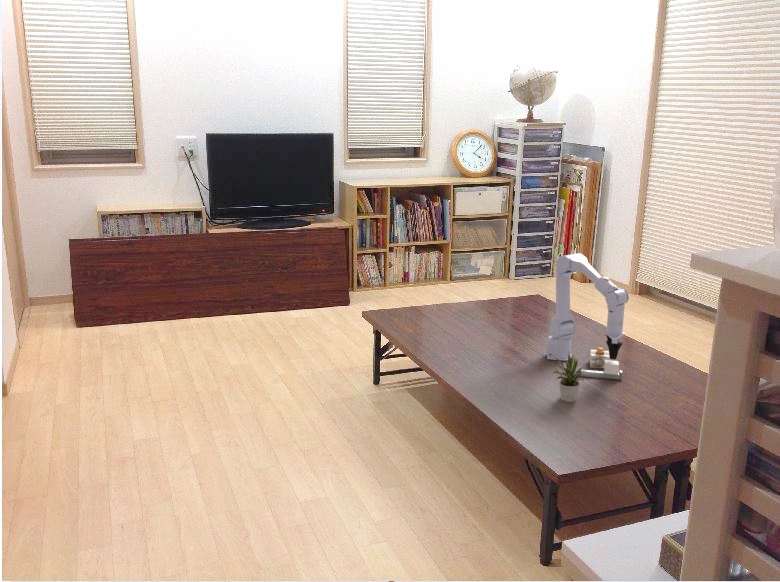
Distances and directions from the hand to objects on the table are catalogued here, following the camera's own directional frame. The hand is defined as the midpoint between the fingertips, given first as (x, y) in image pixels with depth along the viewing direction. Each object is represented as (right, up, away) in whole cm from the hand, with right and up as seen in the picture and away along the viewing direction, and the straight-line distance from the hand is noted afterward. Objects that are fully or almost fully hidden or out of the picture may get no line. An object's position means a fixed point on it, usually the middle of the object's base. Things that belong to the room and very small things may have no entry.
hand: (612, 355), depth 268 cm
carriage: (0, -9, +2) cm, 9 cm away
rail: (-4, -9, +3) cm, 10 cm away
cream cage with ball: (-1, -5, +15) cm, 16 cm away
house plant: (-21, -14, -15) cm, 30 cm away
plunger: (-1, 0, +14) cm, 14 cm away
